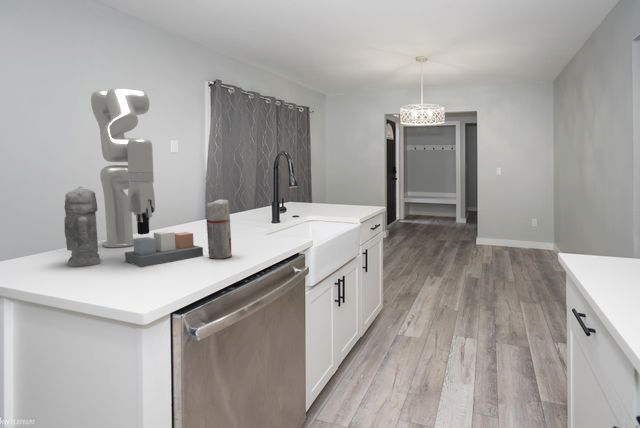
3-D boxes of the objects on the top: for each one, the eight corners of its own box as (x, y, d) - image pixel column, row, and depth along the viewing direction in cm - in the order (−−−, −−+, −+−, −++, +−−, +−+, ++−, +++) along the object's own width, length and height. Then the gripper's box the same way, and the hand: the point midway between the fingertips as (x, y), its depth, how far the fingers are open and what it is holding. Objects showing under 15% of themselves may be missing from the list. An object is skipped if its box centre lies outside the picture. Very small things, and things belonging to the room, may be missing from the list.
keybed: (125, 261, 141) (124, 252, 140) (185, 250, 157) (184, 243, 157) (142, 266, 133) (141, 257, 132) (203, 255, 149) (202, 247, 149)
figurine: (100, 256, 147) (95, 185, 144) (101, 265, 135) (96, 187, 132) (67, 260, 142) (62, 186, 139) (66, 269, 130) (60, 188, 127)
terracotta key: (173, 250, 150) (172, 233, 149) (186, 248, 153) (185, 231, 153) (180, 252, 146) (180, 235, 146) (193, 250, 150) (193, 233, 149)
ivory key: (154, 249, 144) (153, 232, 144) (168, 247, 148) (167, 230, 147) (161, 251, 141) (160, 234, 140) (175, 249, 145) (174, 232, 144)
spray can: (226, 260, 142) (224, 201, 140) (203, 258, 144) (201, 200, 141) (236, 254, 150) (234, 198, 148) (214, 253, 152) (212, 198, 150)
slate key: (134, 256, 139) (133, 238, 139) (149, 254, 143) (148, 236, 142) (141, 259, 136) (140, 240, 135) (156, 256, 140) (155, 238, 139)
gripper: (119, 177, 139) (122, 232, 141) (140, 179, 129) (142, 238, 131) (141, 176, 144) (144, 229, 147) (163, 178, 134) (165, 235, 137)
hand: (143, 233), depth 139 cm, fingers closed
